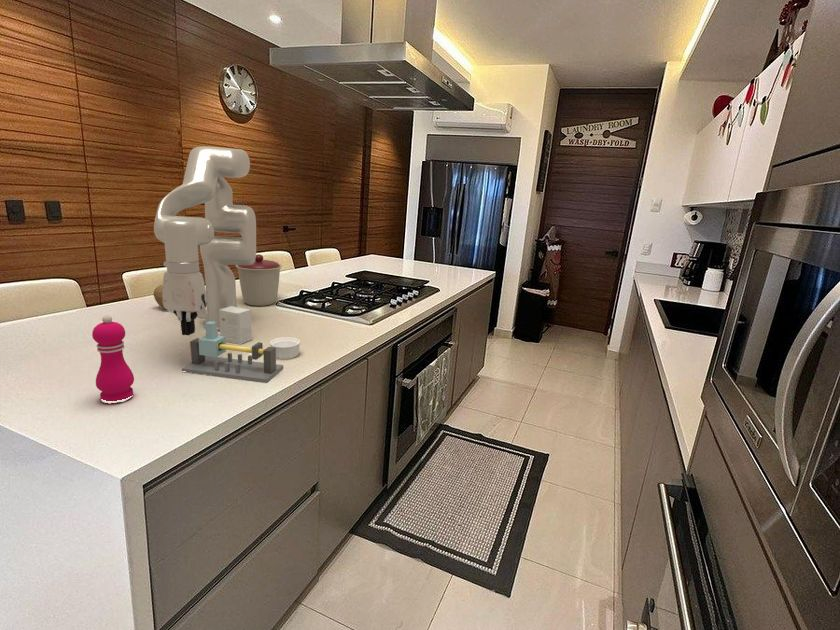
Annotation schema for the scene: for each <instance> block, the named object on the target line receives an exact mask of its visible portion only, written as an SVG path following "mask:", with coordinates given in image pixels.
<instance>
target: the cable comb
mask: <svg viewBox="0 0 840 630" xmlns="http://www.w3.org/2000/svg"><path fill="white" fill-rule="evenodd" d="M198 339H200V338H199V337H196V338H195V339H193V340H190V341H189V347H190V357H191V358H190V359H191V363H189V364H187V365H185V366H183V367H182V368H181V372H182V371H186V372H192V373H191V374H194V373H199V374H198V375H202V374H206V375H205V376H209V375H212V376H211V377H217V376H218V377H219V378H225V377H226V378H225V379H234V380H240V379H241V381H250V382H257V383H264V384H265V383H266V384H267V383H268V382H270V381H271V380H272V379H274V377H276V376H277V375H278V374H279V373H280V372H281V371H282V370H283V369H284V365H283V364H277V358H276V348H275V347H271V346H268V347H266V348H263V347H264V345H263V342H259V341H258V342H257V343H255V344H253V345H252V346H251V347H249V346H240V345H230V344H226V345H225V344H218V349H223V350H226V351H232V352H241V353H238V354H237V358H233V353H232V352H228V353H227V357H219V356H218V357H213V356H205V355H199V341H198ZM242 352H243V353H250V355H247V360H245V359H244V360H243V354H242ZM261 357H263V362H259V361H257V360H258V359H260V358H261ZM253 360H254V361H253ZM186 372H185V373H186ZM218 377H217V378H218Z"/></svg>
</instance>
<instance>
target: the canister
mask: <svg viewBox="0 0 840 630" xmlns="http://www.w3.org/2000/svg"><path fill="white" fill-rule="evenodd" d="M235 267H236V268H237V272H238V279H239V285H240V291H241V296H242V300H243V302H244V303H245V304H246V305H249V306H255V307H264V306H265V307H266V306H271V305H273V304H274V303H276V301H277V299H278V295H279V294H278V293H279V284H280V273H281V268H282V264H280V263H279V262H277V261H274V260H268V259H264V255H263V254H259V253H256V259H255V262H254V263H253V264H252V265H235Z"/></svg>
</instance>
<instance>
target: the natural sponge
mask: <svg viewBox="0 0 840 630" xmlns="http://www.w3.org/2000/svg"><path fill="white" fill-rule="evenodd" d="M162 288H163V284H159V285H158V286H157V287H156V288H155V289H154V290H153V298H154V300H155V302H156V303H157V305H158V306H159V307H160V308H162V309H164V310H167V309H166V308H165V307H164V306H163V294H162Z"/></svg>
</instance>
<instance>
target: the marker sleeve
mask: <svg viewBox="0 0 840 630" xmlns="http://www.w3.org/2000/svg"><path fill="white" fill-rule="evenodd" d="M205 327H206V328H205V336H203V337H201V338H200V339H198V341H199V355H205V356H213V357H219V356H221V355H222V354H224V353H225V352H227V350H223V349H218V344H225V345H227V344H226V341H225V336H221V335H218V331H217V322H213V321H209V322H207V323H205Z"/></svg>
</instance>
